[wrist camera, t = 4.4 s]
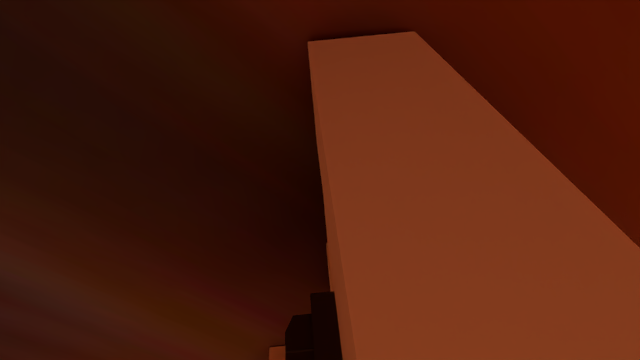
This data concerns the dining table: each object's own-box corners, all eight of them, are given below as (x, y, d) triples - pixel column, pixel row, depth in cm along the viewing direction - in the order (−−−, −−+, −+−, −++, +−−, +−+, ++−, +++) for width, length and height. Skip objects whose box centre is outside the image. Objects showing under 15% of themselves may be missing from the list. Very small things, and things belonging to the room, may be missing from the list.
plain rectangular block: (414, 31, 14) (930, 529, 3) (404, 296, 20) (546, 764, 9) (307, 41, 14) (393, 591, 3) (331, 304, 20) (386, 784, 9)
